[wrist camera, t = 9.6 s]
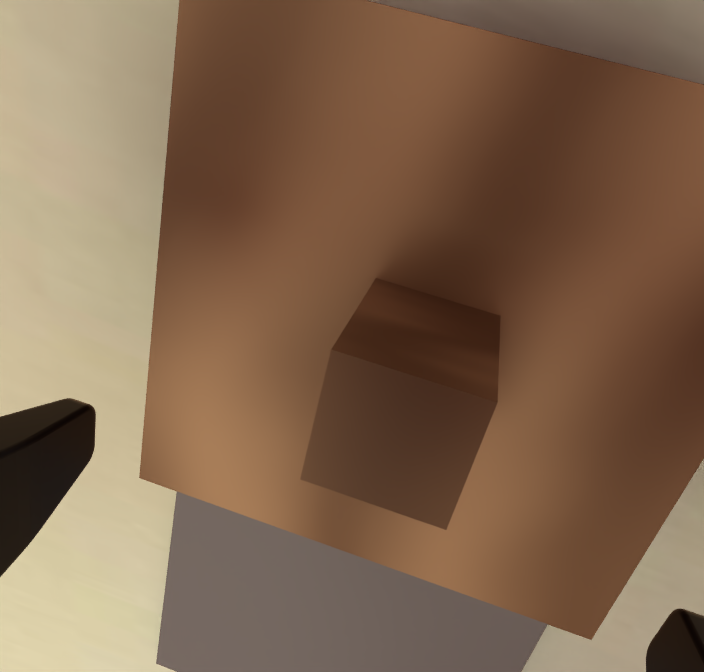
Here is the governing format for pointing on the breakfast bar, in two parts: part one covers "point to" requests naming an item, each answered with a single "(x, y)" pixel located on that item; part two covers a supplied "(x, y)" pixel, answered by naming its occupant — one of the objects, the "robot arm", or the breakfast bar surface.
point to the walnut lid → (430, 296)
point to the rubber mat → (316, 607)
